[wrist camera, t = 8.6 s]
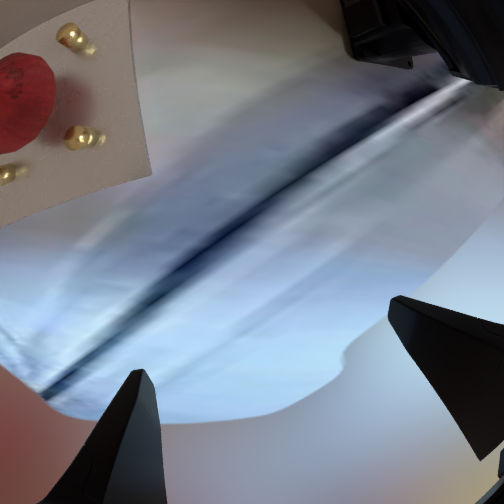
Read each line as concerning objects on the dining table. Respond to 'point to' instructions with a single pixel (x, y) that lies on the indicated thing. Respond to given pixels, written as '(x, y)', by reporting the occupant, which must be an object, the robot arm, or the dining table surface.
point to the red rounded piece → (24, 99)
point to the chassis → (79, 112)
